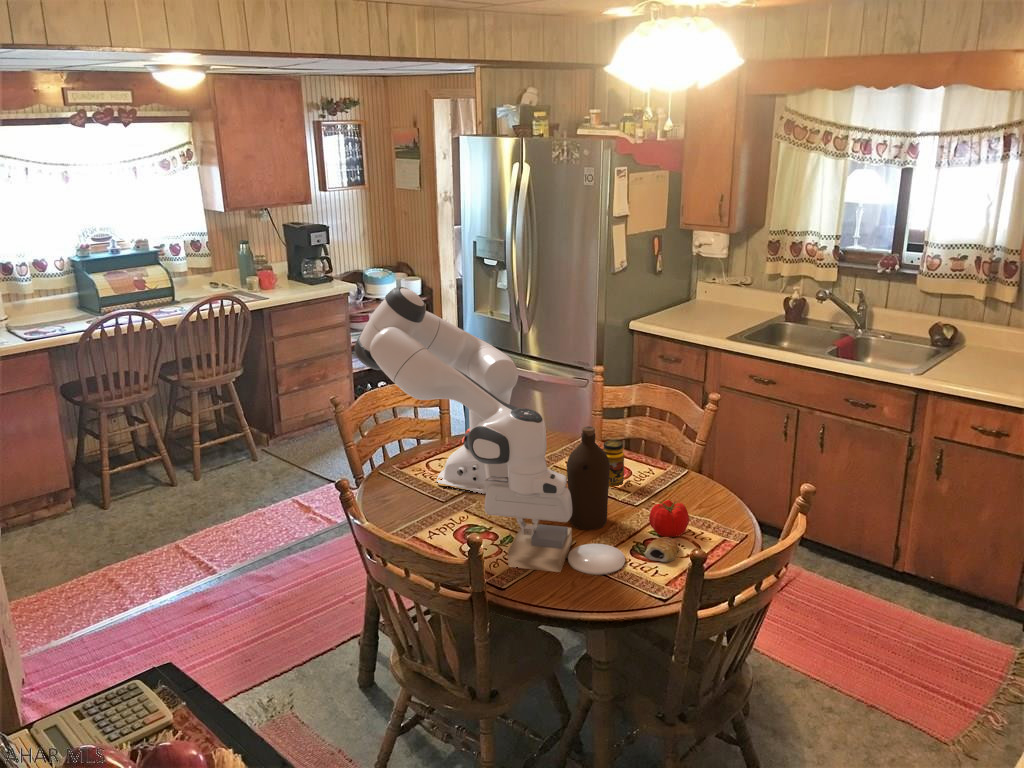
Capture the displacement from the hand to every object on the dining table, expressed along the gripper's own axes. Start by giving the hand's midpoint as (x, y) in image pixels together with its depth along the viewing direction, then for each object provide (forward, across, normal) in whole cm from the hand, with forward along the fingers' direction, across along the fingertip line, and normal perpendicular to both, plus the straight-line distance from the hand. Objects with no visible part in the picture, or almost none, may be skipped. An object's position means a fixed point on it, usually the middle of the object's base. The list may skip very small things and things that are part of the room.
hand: (528, 534), depth 194 cm
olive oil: (+5, +11, +19) cm, 23 cm away
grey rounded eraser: (+1, +5, 0) cm, 5 cm away
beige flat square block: (+5, +3, 0) cm, 6 cm away
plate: (+5, +16, 0) cm, 17 cm away
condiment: (+5, +12, +44) cm, 46 cm away
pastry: (+6, +30, +6) cm, 31 cm away
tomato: (+5, +31, +18) cm, 36 cm away
